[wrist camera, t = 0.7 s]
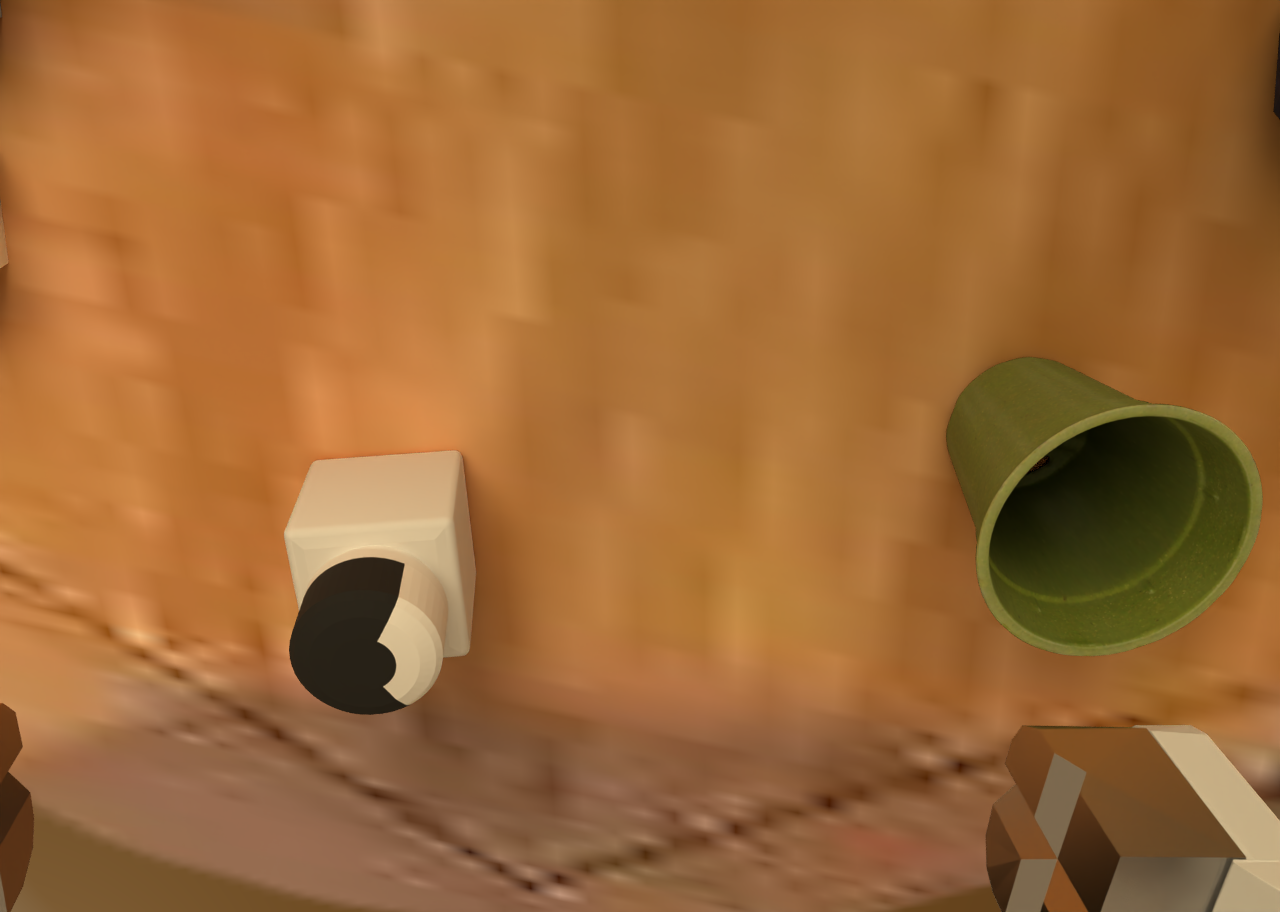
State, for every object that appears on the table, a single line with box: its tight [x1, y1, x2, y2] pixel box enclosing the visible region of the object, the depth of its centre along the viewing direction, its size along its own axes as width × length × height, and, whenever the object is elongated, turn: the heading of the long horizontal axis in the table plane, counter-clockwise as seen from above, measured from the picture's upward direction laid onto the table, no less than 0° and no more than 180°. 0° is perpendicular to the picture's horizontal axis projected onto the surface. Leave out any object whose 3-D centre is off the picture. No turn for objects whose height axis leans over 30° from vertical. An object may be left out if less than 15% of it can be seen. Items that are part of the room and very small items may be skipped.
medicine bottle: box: [284, 450, 476, 715], centre depth 50 cm, size 7×7×12 cm
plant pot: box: [946, 357, 1263, 656], centre depth 51 cm, size 12×12×11 cm
